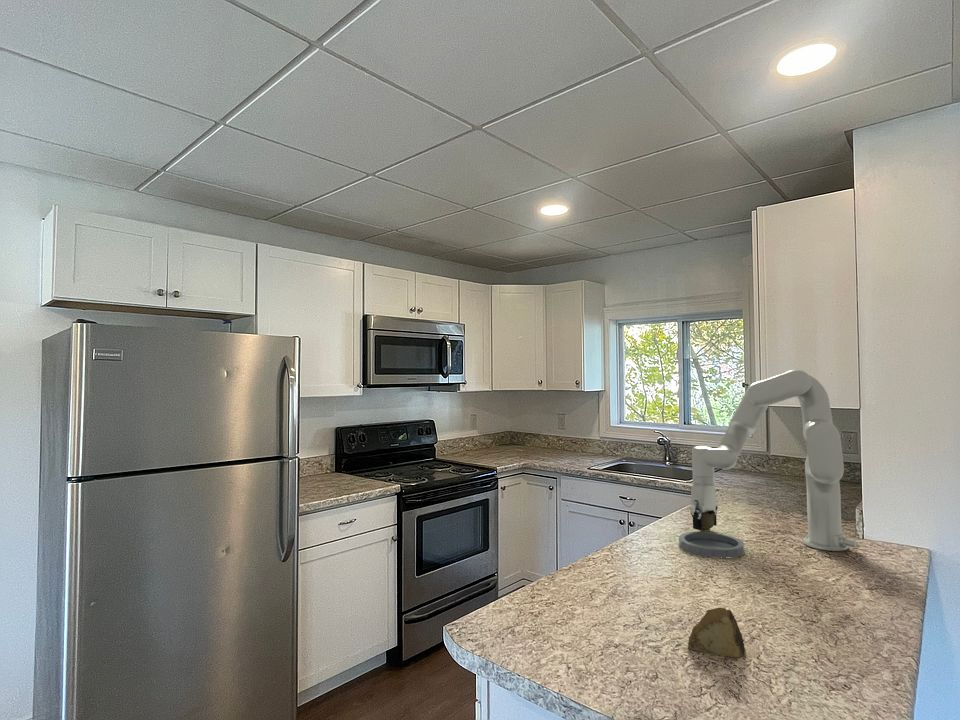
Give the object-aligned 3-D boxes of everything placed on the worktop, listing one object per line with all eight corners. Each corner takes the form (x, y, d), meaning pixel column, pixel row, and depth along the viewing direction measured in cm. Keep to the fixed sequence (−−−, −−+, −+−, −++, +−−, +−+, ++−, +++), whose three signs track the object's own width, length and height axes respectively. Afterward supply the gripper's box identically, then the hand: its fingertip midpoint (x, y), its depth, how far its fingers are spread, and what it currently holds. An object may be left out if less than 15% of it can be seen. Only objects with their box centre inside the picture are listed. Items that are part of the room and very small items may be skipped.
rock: (676, 641, 108) (725, 652, 101) (682, 599, 113) (729, 607, 106) (699, 659, 113) (747, 671, 106) (704, 618, 118) (751, 627, 111)
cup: (718, 535, 187) (717, 513, 188) (696, 534, 189) (695, 512, 189) (713, 529, 195) (712, 508, 195) (692, 529, 196) (691, 507, 197)
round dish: (756, 549, 172) (756, 541, 172) (724, 562, 160) (724, 554, 160) (699, 535, 188) (699, 528, 188) (666, 546, 176) (666, 538, 176)
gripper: (706, 475, 201) (708, 520, 200) (680, 481, 190) (682, 529, 190) (725, 478, 195) (727, 525, 194) (700, 484, 184) (701, 533, 184)
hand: (704, 527), depth 192 cm, fingers open, 9 cm apart
